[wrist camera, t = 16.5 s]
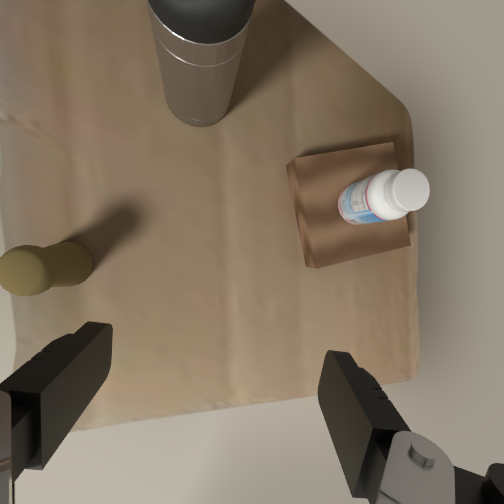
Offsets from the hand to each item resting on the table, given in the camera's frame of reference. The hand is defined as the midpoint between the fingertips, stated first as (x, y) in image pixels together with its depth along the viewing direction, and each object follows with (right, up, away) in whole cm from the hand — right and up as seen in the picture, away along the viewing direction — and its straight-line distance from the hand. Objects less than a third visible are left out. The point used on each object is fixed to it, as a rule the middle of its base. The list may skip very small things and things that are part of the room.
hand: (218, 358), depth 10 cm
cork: (-24, +2, +28) cm, 36 cm away
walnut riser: (+16, +11, +35) cm, 40 cm away
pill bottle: (+16, +11, +31) cm, 37 cm away
